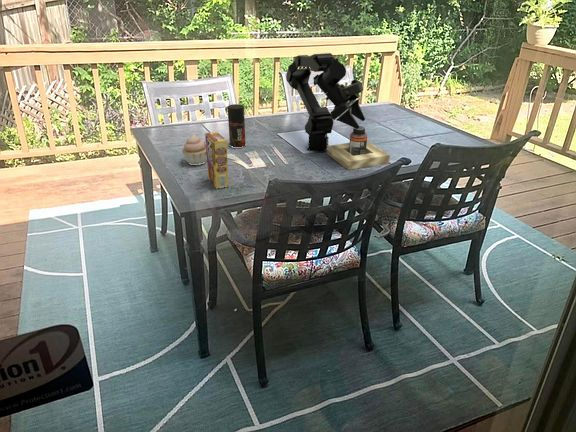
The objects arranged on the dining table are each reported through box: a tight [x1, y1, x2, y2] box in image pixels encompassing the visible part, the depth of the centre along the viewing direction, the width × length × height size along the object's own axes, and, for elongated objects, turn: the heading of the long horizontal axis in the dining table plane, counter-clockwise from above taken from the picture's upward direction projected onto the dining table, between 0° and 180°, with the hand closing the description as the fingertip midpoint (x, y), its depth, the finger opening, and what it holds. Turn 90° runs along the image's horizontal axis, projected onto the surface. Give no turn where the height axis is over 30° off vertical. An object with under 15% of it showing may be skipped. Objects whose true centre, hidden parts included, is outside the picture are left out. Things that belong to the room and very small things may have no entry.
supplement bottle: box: [349, 125, 368, 156], centre depth 162 cm, size 6×6×11 cm
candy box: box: [204, 131, 229, 190], centre depth 142 cm, size 9×4×15 cm, turn 26°
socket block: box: [326, 140, 390, 171], centre depth 164 cm, size 16×16×3 cm
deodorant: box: [227, 103, 246, 147], centre depth 171 cm, size 6×6×15 cm
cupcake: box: [181, 134, 207, 164], centre depth 158 cm, size 9×9×10 cm
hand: (361, 124), depth 158 cm, fingers open, 9 cm apart
